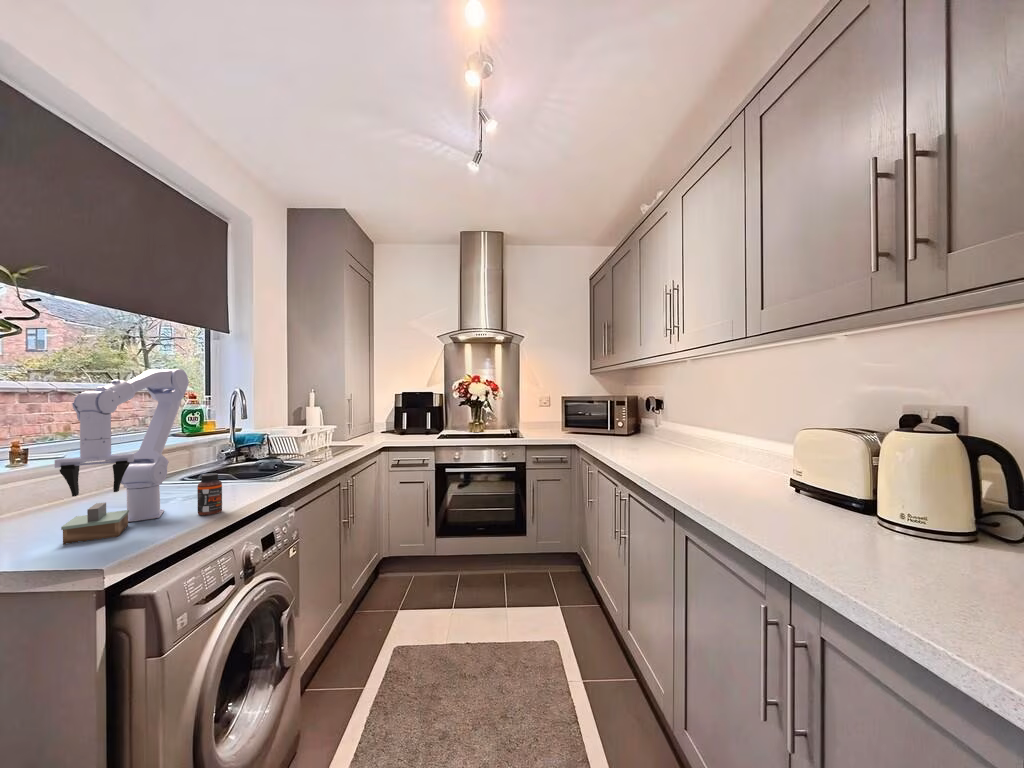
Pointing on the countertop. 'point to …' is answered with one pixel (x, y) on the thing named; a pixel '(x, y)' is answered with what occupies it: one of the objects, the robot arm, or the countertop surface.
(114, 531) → the box
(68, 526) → the lid
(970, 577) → the countertop surface
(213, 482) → the supplement bottle
